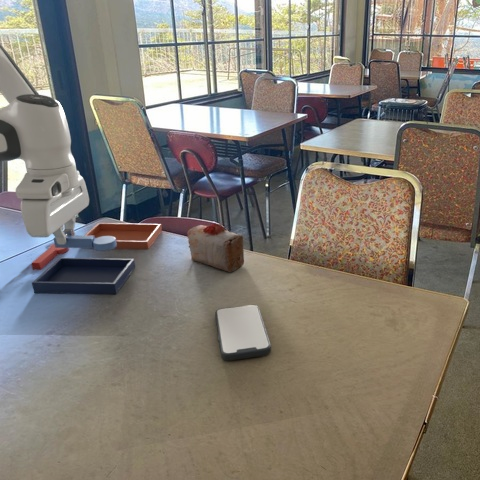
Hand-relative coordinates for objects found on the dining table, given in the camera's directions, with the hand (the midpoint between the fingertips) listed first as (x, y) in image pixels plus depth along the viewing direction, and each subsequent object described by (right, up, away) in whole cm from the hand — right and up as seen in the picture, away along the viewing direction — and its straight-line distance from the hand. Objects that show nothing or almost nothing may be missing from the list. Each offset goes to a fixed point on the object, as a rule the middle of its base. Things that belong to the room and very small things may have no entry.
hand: (66, 240), depth 103 cm
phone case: (+40, -18, -13) cm, 46 cm away
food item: (+29, -6, +14) cm, 33 cm away
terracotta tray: (+2, 0, +24) cm, 24 cm away
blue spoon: (+4, -1, +1) cm, 4 cm away
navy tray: (+3, -9, +4) cm, 10 cm away
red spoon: (-10, -5, +13) cm, 17 cm away
